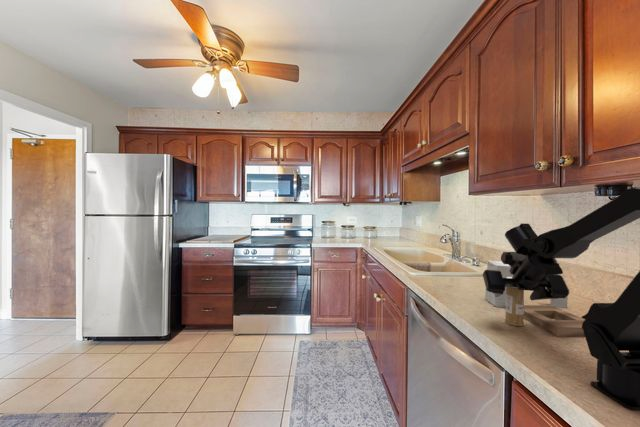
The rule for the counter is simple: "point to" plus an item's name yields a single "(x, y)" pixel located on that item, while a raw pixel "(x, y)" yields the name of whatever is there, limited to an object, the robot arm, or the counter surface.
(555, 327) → the brown wooden tray
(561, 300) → the lighter
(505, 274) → the skincare box
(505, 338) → the counter surface
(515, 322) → the sprinkles bottle
